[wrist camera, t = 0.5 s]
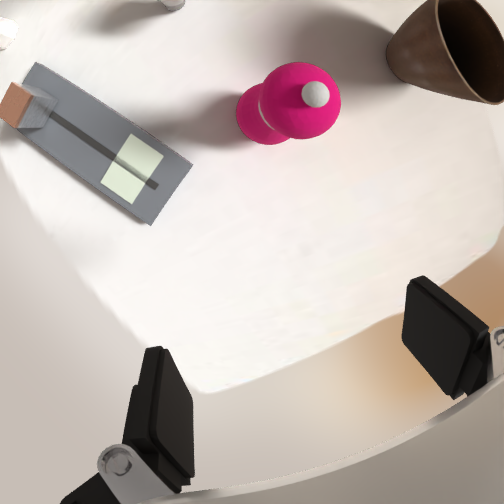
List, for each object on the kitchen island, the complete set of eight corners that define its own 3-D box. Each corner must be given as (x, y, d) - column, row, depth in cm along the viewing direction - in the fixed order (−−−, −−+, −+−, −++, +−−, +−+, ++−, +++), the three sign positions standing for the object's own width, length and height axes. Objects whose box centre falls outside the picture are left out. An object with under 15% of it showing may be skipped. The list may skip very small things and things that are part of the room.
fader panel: (42, 64, 26) (34, 61, 24) (193, 164, 35) (192, 166, 33) (11, 119, 27) (3, 119, 25) (153, 221, 37) (150, 226, 35)
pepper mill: (245, 152, 35) (285, 164, 17) (224, 100, 32) (243, 54, 14) (297, 134, 35) (384, 133, 17) (279, 82, 32) (349, 33, 14)
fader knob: (40, 88, 25) (11, 81, 19) (58, 100, 26) (30, 95, 20) (25, 114, 26) (-5, 113, 20) (42, 127, 27) (13, 128, 21)
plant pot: (388, 3, 28) (453, -30, 14) (449, 66, 33) (519, 59, 18) (347, 57, 32) (418, 26, 17) (417, 125, 37) (496, 131, 22)
